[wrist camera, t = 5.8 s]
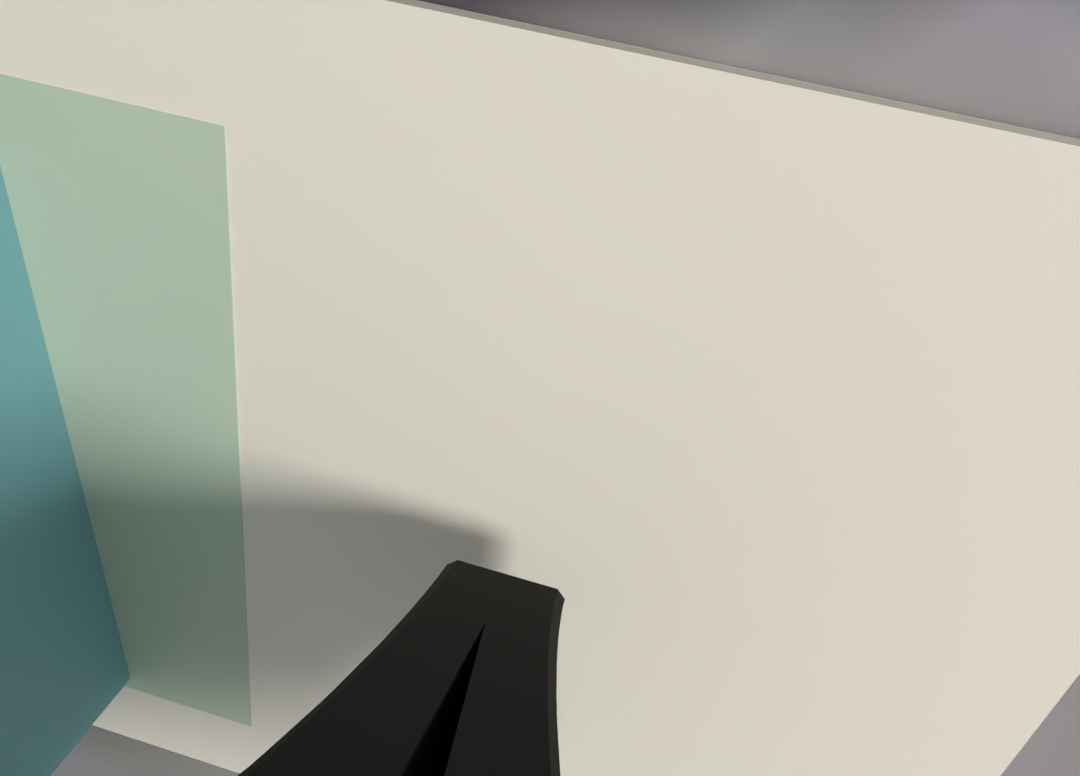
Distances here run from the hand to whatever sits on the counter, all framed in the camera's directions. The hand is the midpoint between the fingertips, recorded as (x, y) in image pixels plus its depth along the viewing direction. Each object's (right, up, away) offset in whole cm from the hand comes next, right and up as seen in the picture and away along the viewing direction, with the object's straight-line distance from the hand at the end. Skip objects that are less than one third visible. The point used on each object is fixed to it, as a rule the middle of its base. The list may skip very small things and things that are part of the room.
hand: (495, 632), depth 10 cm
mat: (-3, +2, +2) cm, 4 cm away
